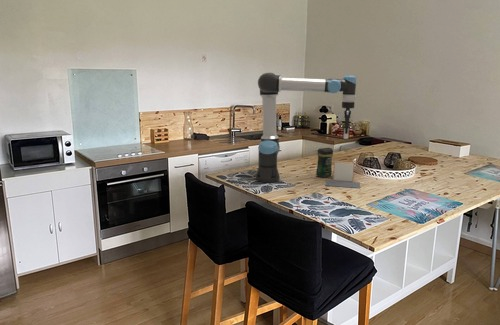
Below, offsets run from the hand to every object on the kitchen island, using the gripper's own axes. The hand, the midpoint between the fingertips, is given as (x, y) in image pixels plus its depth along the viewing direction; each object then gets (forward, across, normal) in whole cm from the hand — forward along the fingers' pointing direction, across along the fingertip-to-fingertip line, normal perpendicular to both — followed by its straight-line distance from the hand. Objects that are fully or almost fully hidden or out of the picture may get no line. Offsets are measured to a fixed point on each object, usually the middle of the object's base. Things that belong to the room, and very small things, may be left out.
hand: (345, 137), depth 238 cm
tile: (+26, -10, 0) cm, 28 cm away
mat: (+26, -17, 0) cm, 31 cm away
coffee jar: (+26, -2, +12) cm, 29 cm away
